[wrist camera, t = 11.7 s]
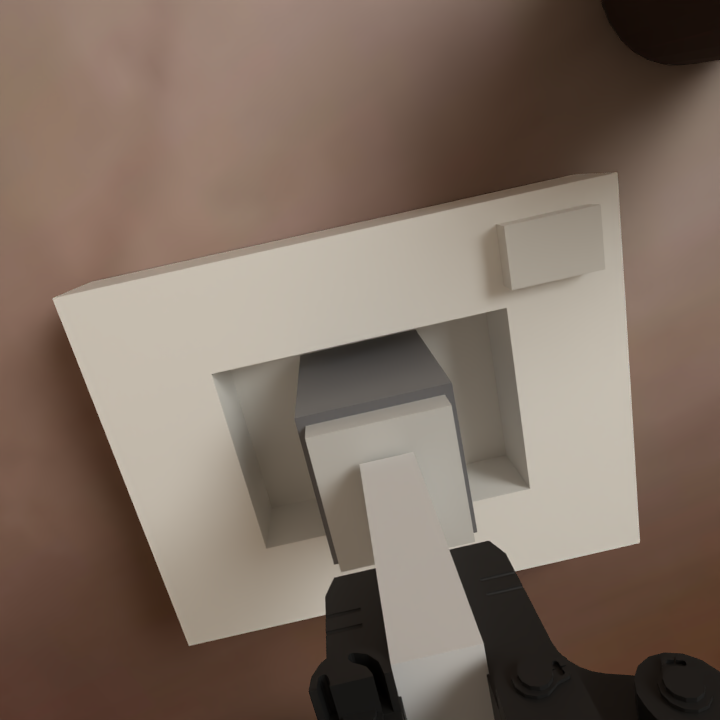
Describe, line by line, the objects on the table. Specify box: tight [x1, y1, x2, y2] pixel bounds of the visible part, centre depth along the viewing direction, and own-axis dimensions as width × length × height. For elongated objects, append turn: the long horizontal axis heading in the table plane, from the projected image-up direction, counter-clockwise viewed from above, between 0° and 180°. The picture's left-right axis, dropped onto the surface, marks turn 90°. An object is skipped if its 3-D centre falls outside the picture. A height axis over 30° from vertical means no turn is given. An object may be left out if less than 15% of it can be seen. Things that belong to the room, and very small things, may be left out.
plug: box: [294, 330, 477, 572], centre depth 19 cm, size 5×4×7 cm
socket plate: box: [52, 172, 640, 646], centre depth 20 cm, size 14×18×4 cm
